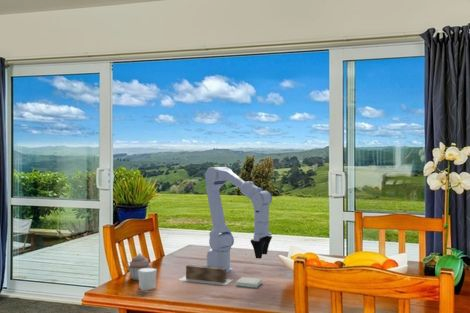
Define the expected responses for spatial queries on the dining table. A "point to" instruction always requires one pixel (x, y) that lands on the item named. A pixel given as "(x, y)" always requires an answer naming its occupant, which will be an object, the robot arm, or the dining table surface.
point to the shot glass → (147, 278)
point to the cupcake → (138, 265)
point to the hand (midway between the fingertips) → (261, 256)
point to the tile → (249, 282)
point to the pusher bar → (206, 273)
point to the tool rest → (206, 281)
